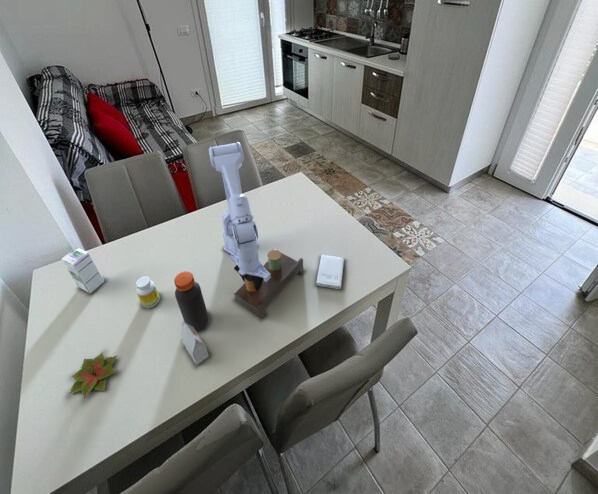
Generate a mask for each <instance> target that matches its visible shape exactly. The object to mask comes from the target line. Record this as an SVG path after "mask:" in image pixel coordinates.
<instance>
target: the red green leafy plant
mask: <svg viewBox="0 0 598 494" xmlns="http://www.w3.org/2000/svg"><path fill="white" fill-rule="evenodd" d="M117 358H118V355H115V356H108V357H106V358H105V355H104V352H103V351H102V352H101V353H100V354H98V355H97V356H95V357H94V358H93V357H92V358H83V362H82V364H81V368H80V369H79V370H78V371H76V372H75V373H74V374H73V375H71V376H70V378H72V379H73V380H74V381H75V382H74V383H73V385H72V387H71V388H70V391H69V392H68V394H67V395H71V394H74V393H78V392H81V394H82V396H83V399H84V400H85V399H86V397H87V396H88V395H89V393H90V392H91V391H92V390H94V391H103V392H105V390H106V385H107V378H108V377H110V376H112V375H114V374H117V371H116V370H115V369H114V368H113V367H112V366H113V364H114V363H115V361H116V359H117Z"/></svg>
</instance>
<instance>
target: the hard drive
mask: <svg viewBox="0 0 598 494" xmlns="http://www.w3.org/2000/svg"><path fill="white" fill-rule="evenodd" d="M344 265H345V257H340V256H334V255H327V254H321V256H320V261H319V266H318V270H317V271H318V272H317V277H316V283H315V286H318V287H322V288H329V289H335V290H341V289H342V281H343V273H344Z"/></svg>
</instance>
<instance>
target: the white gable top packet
mask: <svg viewBox="0 0 598 494" xmlns="http://www.w3.org/2000/svg"><path fill="white" fill-rule="evenodd" d="M180 336H181V340H182V342H183V345H184V347H185V349H186V350H187V352H188V354H189V355H190V357H191V359H192V360H193V362H194V363H195V365H196V366H198V365H199V364H201V362H203V361H204V360H206V359H207V358H208V357H209V356H210V354H209V353H208V349H207V345H206V343H205V342H204V340H203V339H202V338H201V336H200V334H199V333H198V331H196V330H195V328H194V327H193V326H191V325H188V324H187V323H186V322H183V326H182V330H181V333H180Z"/></svg>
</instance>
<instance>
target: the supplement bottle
mask: <svg viewBox="0 0 598 494" xmlns="http://www.w3.org/2000/svg"><path fill="white" fill-rule="evenodd" d="M135 286H136V288H135V292H136V295H137V297H138V299H139V301H140V303H141V305H142V307H144V308H147V309H148V308H153V307H155V306H156V305H157V304H158V303H159V301H160V294H159V291H158V289H157V287H156V284H155V282H154V281H153V280H151V279H150V277H149V276H142V277H139V278H138V279H137V280H136V282H135Z"/></svg>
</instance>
